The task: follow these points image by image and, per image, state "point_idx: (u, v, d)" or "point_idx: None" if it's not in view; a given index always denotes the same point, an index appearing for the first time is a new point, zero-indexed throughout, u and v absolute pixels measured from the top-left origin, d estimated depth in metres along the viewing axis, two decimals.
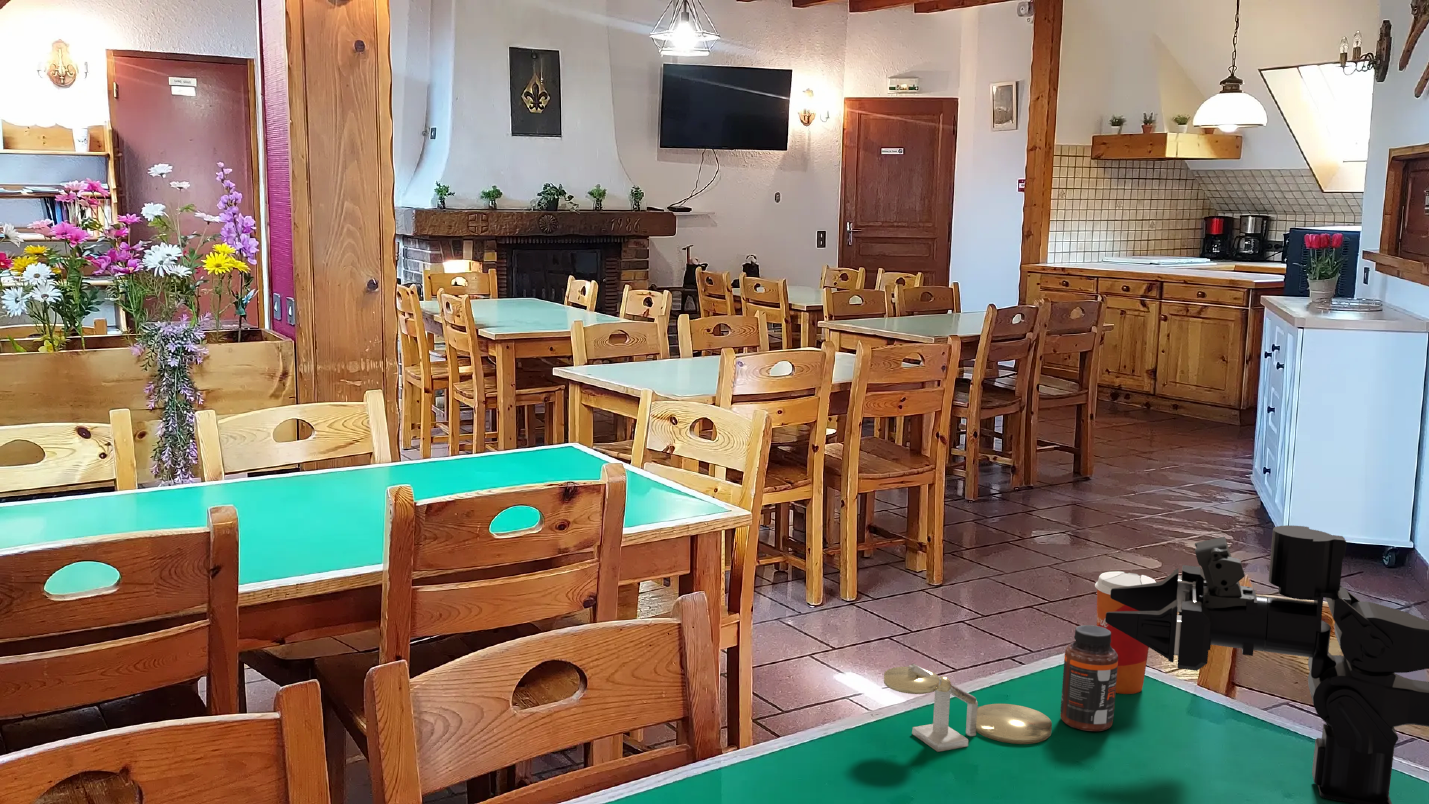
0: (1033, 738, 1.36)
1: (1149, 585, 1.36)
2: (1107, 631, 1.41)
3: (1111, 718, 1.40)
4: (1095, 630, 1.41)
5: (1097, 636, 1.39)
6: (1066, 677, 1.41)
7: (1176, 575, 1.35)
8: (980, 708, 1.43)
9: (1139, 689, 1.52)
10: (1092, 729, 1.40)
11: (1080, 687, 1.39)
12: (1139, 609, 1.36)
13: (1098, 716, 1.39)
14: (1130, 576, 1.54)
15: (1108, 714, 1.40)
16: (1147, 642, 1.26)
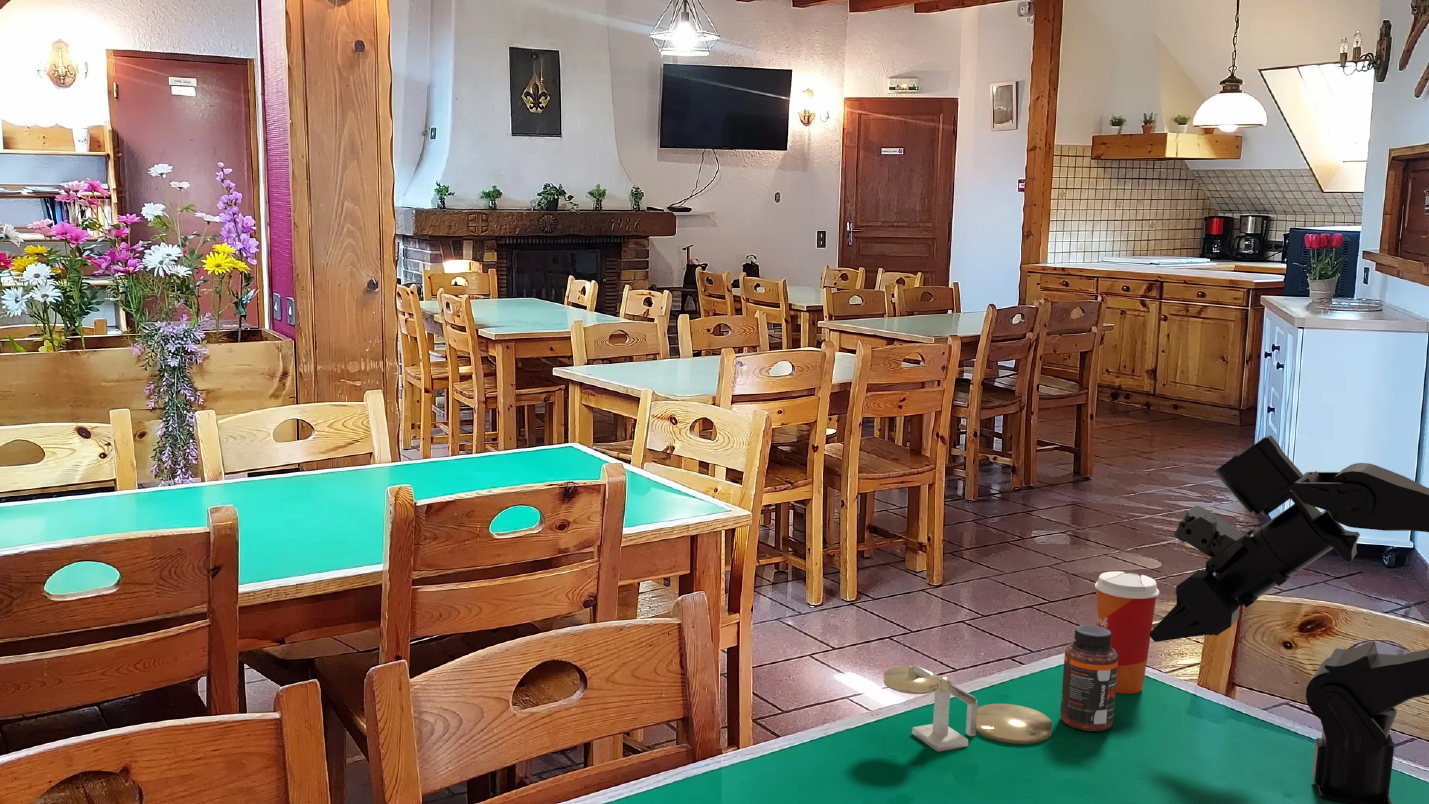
0: (1033, 738, 1.36)
1: None
2: (1107, 631, 1.41)
3: (1111, 718, 1.40)
4: (1095, 630, 1.41)
5: (1097, 636, 1.39)
6: (1066, 677, 1.41)
7: (1207, 563, 1.38)
8: (980, 708, 1.43)
9: (1139, 689, 1.52)
10: (1092, 729, 1.40)
11: (1080, 687, 1.39)
12: None
13: (1098, 716, 1.39)
14: (1130, 576, 1.54)
15: (1108, 714, 1.40)
16: (1190, 633, 1.28)
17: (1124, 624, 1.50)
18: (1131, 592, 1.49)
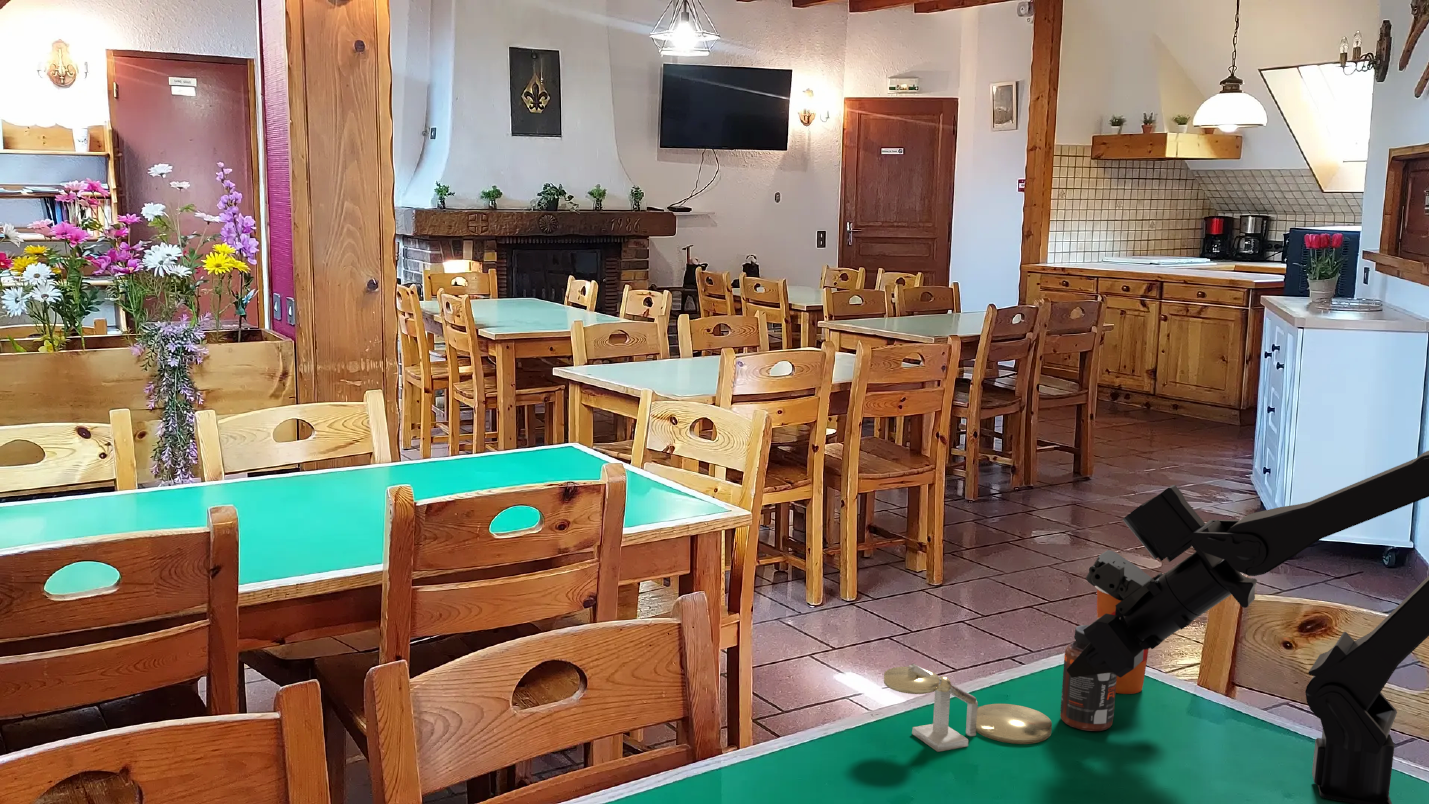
0: (1033, 738, 1.36)
1: None
2: None
3: (1111, 718, 1.40)
4: None
5: None
6: (1066, 677, 1.41)
7: (1116, 607, 1.43)
8: (980, 708, 1.43)
9: (1139, 689, 1.52)
10: (1092, 729, 1.40)
11: (1080, 687, 1.39)
12: None
13: (1098, 716, 1.39)
14: None
15: (1108, 714, 1.40)
16: (1103, 670, 1.36)
17: None
18: None
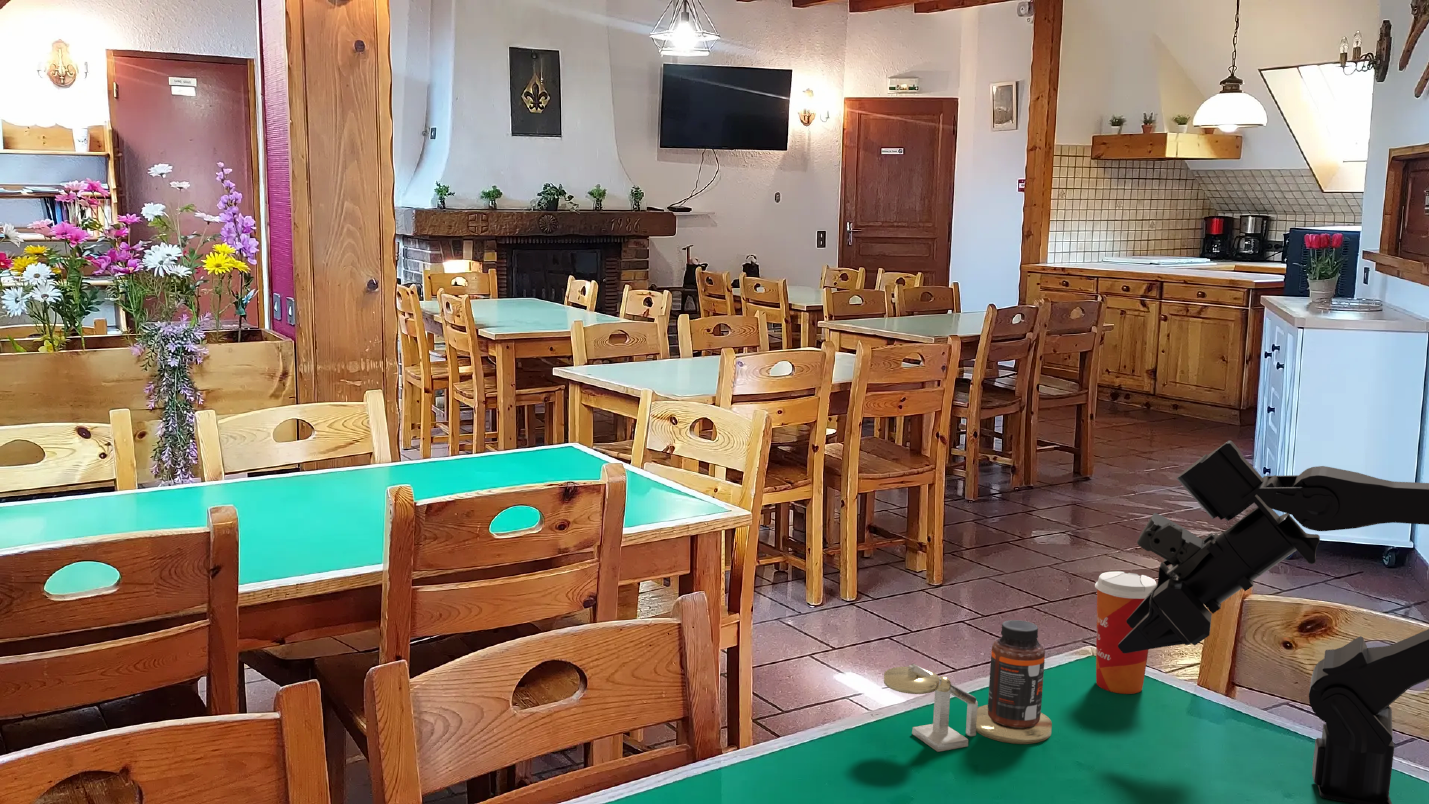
0: (1033, 738, 1.36)
1: (1149, 594, 1.38)
2: (1033, 625, 1.39)
3: (1039, 713, 1.39)
4: (1022, 625, 1.39)
5: (1026, 631, 1.37)
6: (995, 675, 1.39)
7: (1160, 569, 1.37)
8: (980, 708, 1.43)
9: (1139, 689, 1.52)
10: (1023, 726, 1.37)
11: (1011, 684, 1.37)
12: None
13: (1029, 712, 1.37)
14: (1130, 576, 1.54)
15: (1037, 709, 1.38)
16: (1162, 643, 1.27)
17: (1124, 624, 1.50)
18: (1131, 592, 1.49)
